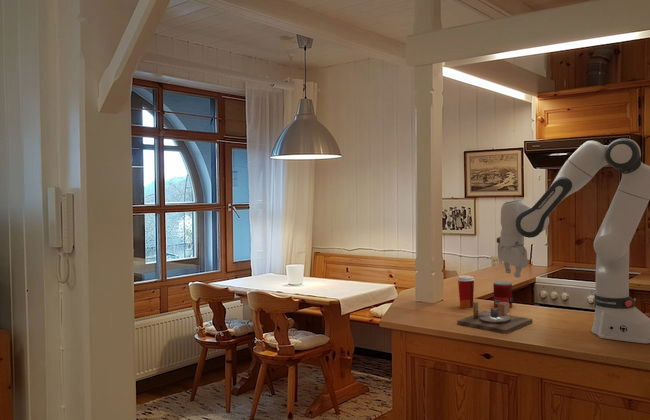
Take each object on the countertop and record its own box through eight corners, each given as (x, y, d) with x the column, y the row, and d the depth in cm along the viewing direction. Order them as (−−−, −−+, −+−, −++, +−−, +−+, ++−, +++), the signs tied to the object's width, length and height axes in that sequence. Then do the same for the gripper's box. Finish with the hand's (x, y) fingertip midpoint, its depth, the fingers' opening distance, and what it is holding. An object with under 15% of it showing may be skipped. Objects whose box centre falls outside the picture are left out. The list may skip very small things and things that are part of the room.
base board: (532, 322, 233) (532, 303, 232) (506, 333, 220) (505, 313, 219) (484, 314, 249) (483, 295, 249) (457, 324, 236) (456, 304, 235)
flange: (500, 324, 226) (499, 311, 225) (473, 319, 235) (473, 307, 234) (519, 316, 236) (519, 304, 236) (493, 312, 245) (493, 300, 244)
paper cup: (469, 304, 268) (468, 274, 267) (478, 308, 260) (477, 277, 259) (454, 306, 265) (453, 276, 264) (463, 310, 258) (462, 279, 257)
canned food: (513, 308, 257) (512, 284, 256) (494, 308, 258) (494, 284, 258) (511, 304, 264) (510, 280, 264) (493, 304, 266) (492, 280, 265)
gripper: (531, 243, 221) (532, 279, 222) (509, 237, 241) (509, 270, 242) (516, 244, 220) (516, 280, 221) (494, 238, 241) (495, 271, 242)
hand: (512, 275), depth 232 cm, fingers open, 7 cm apart
